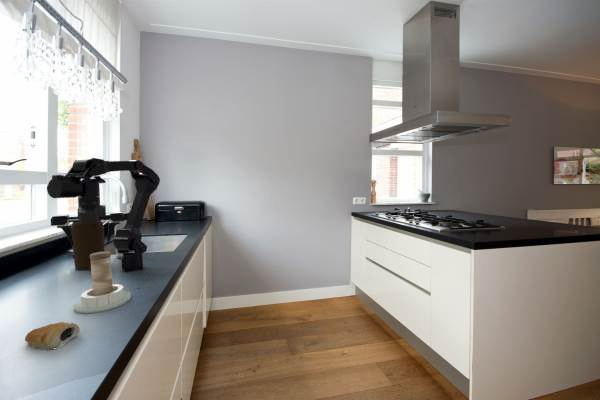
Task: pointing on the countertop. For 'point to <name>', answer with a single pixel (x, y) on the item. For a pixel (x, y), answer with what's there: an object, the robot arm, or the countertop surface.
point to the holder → (102, 300)
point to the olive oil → (87, 242)
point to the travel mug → (120, 226)
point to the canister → (101, 273)
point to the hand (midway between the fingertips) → (91, 244)
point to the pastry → (52, 335)
